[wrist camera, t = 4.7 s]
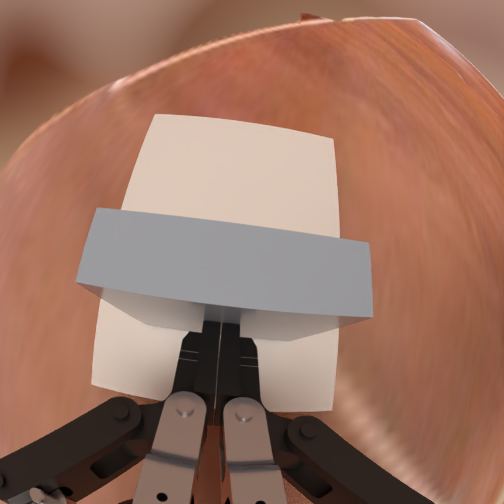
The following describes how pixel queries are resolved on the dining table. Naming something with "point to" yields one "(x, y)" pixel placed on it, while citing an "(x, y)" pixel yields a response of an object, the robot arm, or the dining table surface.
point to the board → (235, 211)
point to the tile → (226, 275)
